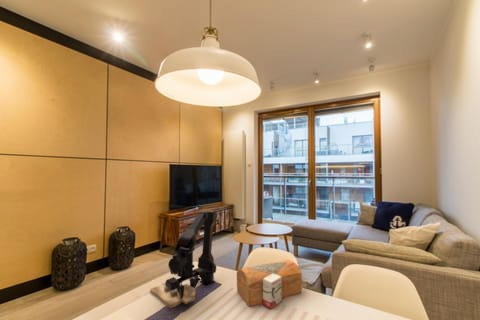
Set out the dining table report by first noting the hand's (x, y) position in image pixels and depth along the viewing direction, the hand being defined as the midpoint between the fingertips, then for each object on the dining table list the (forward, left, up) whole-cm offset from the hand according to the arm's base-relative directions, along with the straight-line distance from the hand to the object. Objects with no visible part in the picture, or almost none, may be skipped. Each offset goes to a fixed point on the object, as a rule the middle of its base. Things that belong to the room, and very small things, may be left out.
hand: (186, 296), depth 109 cm
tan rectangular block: (0, 0, -1) cm, 1 cm away
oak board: (0, -12, -3) cm, 13 cm away
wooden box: (-34, +22, -4) cm, 41 cm away
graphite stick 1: (0, -14, -2) cm, 14 cm away
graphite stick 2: (0, -8, -2) cm, 8 cm away
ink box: (-28, +29, -3) cm, 40 cm away
